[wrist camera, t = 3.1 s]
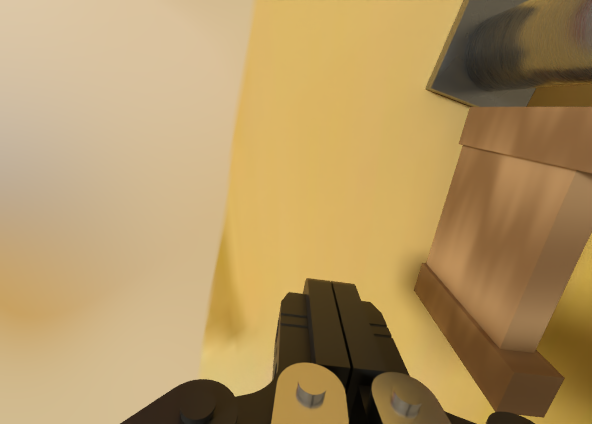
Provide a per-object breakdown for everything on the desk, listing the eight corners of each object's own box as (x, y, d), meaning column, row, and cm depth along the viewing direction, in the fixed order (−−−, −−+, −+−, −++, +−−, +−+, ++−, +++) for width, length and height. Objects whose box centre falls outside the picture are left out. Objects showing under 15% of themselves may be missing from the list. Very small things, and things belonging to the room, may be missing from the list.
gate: (470, 106, 14) (636, 106, 7) (505, 112, 14) (701, 117, 7) (413, 290, 17) (495, 412, 10) (443, 293, 17) (543, 417, 10)
